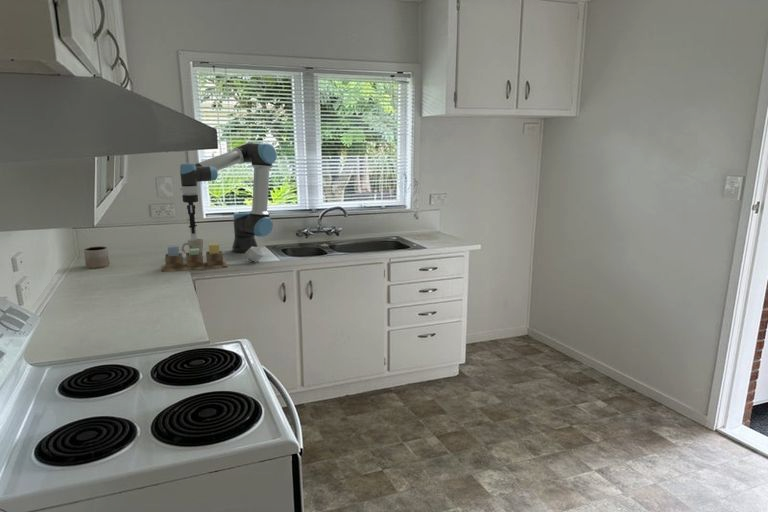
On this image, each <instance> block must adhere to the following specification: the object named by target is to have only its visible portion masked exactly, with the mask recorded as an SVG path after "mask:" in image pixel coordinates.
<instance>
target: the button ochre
mask: <svg viewBox="0 0 768 512" xmlns="http://www.w3.org/2000/svg"><path fill="white" fill-rule="evenodd" d="M219 244H220V243H219V242H216V243H215V242H214V243H213V242H212V243H211V242H210V243H208V251H209V254H217V253H219V251H220V245H219Z"/></svg>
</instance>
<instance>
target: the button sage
mask: <svg viewBox="0 0 768 512" xmlns="http://www.w3.org/2000/svg"><path fill="white" fill-rule="evenodd" d="M188 252H189V255H199V248H196V249H189V248H188Z"/></svg>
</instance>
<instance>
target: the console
mask: <svg viewBox="0 0 768 512" xmlns="http://www.w3.org/2000/svg"><path fill="white" fill-rule="evenodd" d="M205 252H206V261H204V258H203V257H204V256H203V253H202V252H199V255H189V251H188V252H187V253H186V254H185V258H186V259H185V260H186V261H185V262H184V259H183V252H179V256H168V253H165V256H164V261H165V264H162V267H161V272H162V273H163V272H166V273H167V272H177V271H180V272H181V271H192V270H195V271H197V270H207V269H222V268H228V264H227V260H224V257H223V256H224V255H223V254H224V253H223V251H222V250H219V253H217V254H209V250H207V251H205Z"/></svg>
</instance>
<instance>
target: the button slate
mask: <svg viewBox="0 0 768 512" xmlns="http://www.w3.org/2000/svg"><path fill="white" fill-rule="evenodd" d="M179 247H180V246H179V245H178V244H176V245H168V246H167V254H168V256H179V253H180V252H179V251H180V248H179Z"/></svg>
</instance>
